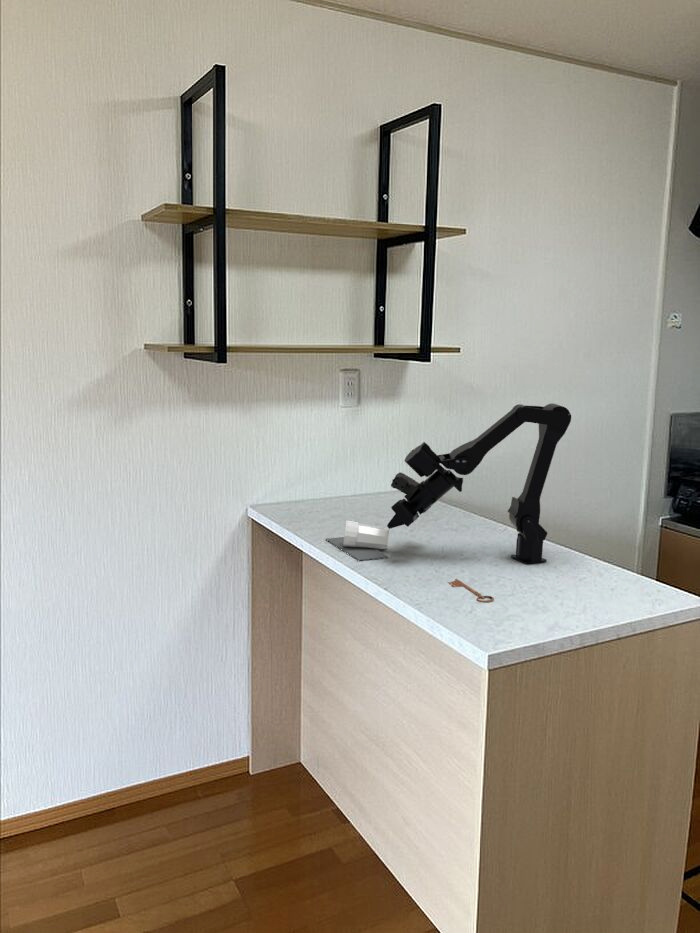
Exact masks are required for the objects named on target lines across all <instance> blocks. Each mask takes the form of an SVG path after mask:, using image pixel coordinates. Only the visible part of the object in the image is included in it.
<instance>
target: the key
mask: <svg viewBox="0 0 700 933" xmlns="http://www.w3.org/2000/svg"><path fill="white" fill-rule="evenodd" d="M447 584H449V585H450V586H451V587H452V588H464V589H466V590H468V591H469V592H470V593H472V595H475V596H476V597H477V598H476V602H478V603H483V604H485V603H486V604H487V603H488V604H489V603H492V602H493V601H494V600H495V599H494V597H493V596H491V595H482V594H481V593H480V592H478V591H477V590H474V589H473V588H472V587H470V586H469V585H467V584H466V583H464V582H463V581H461V580H459V579H458V578H455V579H454V580H452V581H448V582H447ZM485 599H486V600H485Z"/></svg>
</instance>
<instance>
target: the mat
mask: <svg viewBox="0 0 700 933" xmlns="http://www.w3.org/2000/svg"><path fill="white" fill-rule="evenodd" d="M326 540H328V541H329V542H330V543H329V542H328V541H327V542H328V543H329V544H331V543H332V544H331V545H333V546H334V545H335V546H334V547H336V546H337V547H338V548H337V547H336V548H337V549H339V548H340V549H342V550H343V551H342V550H341V551H342V552H344V551H345V552H346V553H345V552H344V553H345V554H347V553H348V554H349V555H348V554H347V555H348V556H350V555H351V556H352V558H353V557H354V558H353V559H355V558H356V559H357V560H356V559H355V560H356V561H358V560H359V561H358V562H361V561H360V560H366V561H371V560H370V559H376V560H381V559H380V558H385V559H389V556H388V555H386V554H384V553H383V552H381V551H379V550H378V549H377V548H367V547H348V546H343V544H344V536H337V537H328V538H325V541H326ZM340 549H339V550H340ZM351 556H350V557H351Z"/></svg>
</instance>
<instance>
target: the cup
mask: <svg viewBox="0 0 700 933" xmlns="http://www.w3.org/2000/svg"><path fill="white" fill-rule="evenodd" d="M344 530H345V531H344V536H343V537H344V544H343V546H348V547H367V548H374V549H379V550H380V549H382V550H387V548H388V544H389V543H388V542H389V537H390V536H389V535H390V529H389V528H384V527H378V526H373V525H368V524H362V523H359V522H357V521H352V520H351V521H350V520H346V522H345V529H344Z"/></svg>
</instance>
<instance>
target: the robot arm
mask: <svg viewBox="0 0 700 933" xmlns="http://www.w3.org/2000/svg"><path fill="white" fill-rule="evenodd" d="M571 421H572V414H571V412H570V410H569V409H568V408H567V407H565V406H563V405H559V404H557V403H548V404H546V405H545V406H540V405H524V404H521V403H519V404H516V405H514V406H513V407H512V409H511V410H509V411H508V412H507V413H506V414H505V415H504V416H502V417H501V418H500V419H498V420H496V422H495V423H493V424H492V425H491V426H489V427H488V428H487V429H486V430H485V431H483V432H482V433H481V434H480V435H479V436H478V437H475V438H474V439H473V440H470V441H467V442H466V443H463V444H461V445H459V446H457V447H456V448H454V449H453V450H452V451H450V452H449V453H444V454H443V453H442V454H437V453H436V452H434V451H433V450H432V448H431V447H430V445H429V444H428V443H427V442H426V441H423V442H422V443H421V444H420V445H418V446H416V447H414V448H413V449H412V450H410V452H409V453H408V454H407V455H406V457H405V458H404V462H405V463H406V464H407V465H408V466H409V467H410V468H411V469H412V470H413V471H414V472H415V473H416V474H417V475H418V476H419V477H421V478H422V477H425V478H426V479H425V480H422V481H421V482H418V481H416V480H415V479H414V478H412V477H410V476H408V475H407V474H405V473H403V472H398V473H396V474H395V477H393V479H392V481H391V483H390V486H391V488H393V489H396V490H397V491H399V492H401V493H403V494H404V498H402V499H399V500H398V501H397V502H395V503H394V504H393V505H391V506H390V508H391V511H393V512H394V513H395V514H394V516H392V518H391V519H390V520H389V522H388V523H387V524H386V527H387V529H389V530H390V529H394V528H397V527H400V526H404V525H405V527H409V526H411V525H412V524H413V523H414V522H416V521H417V520H418V519H419V517H420V516H421V515H422V514H425V513H426V512H428V511H429V509H431V508H432V506H433V505H434V504H435V503H436V502H438V501H439V500H440V499H441V498H442V497H443V496H444V495H446V494H447V493H448V492H449V491H450V490H452V489H453V488H455V489H456V490H457V491H458V492H459V493H462V491H463V483H464V477H459V476H460V475H461V476H467V475H470V474H471V473H473V472H474V470H476V468H478V466H479V464H481V462H482V461H483V459H484V457H485V456H486V455H487V454H488V453H489V452H491V450H492V449H493V448H494V447H496V446H498V444H500V443H501V442H502V441H503V440H505V439H506V438H507V437H508V436H510V435H511V434H512V433H513V432H514V431H516V430H517V429H518V428H519V427H520V426H522V425H523V424H524V423H531V424H532V423H533V424H537V425H538V440H537V444H536V447H535V451H534V453H533V457H532V459H531V463H530V466H529V469H528V473H527V476H526V480H525V483H524V485H523V488H522V492H521V493H520V495H519V496H518V497H515V496H512V497H511V503H510V506H509V508H508V509H507V513H509V515H508V518H509V521H510V523H511V524H512V526H514V527H515V529H516V531H517V538H516V542H515V543H516V545H515V554H511V556H510V557H511V559H513V560H517V561H518V562H521V563H523V564H526V565H529V564H537V563H538V564H540V563H546V562H547V559H545V558H543V549H544V548H543V546H544V541H545V540H546V538H547V536H548V532H547V530H546V529H545V528H544V527H543V526H542V525H541V523H540V519H541V518H540V516H541V497H542V494H543V490H544V486H545V483H546V479H547V477H548V475H549V474H548V473H549V470H550V467H551V464H552V460H553V457H554V454H555V450H556V447H557V444H558V443H559V442H560V440H561V439H562V438H563V436H564V435H565V434H566V431H567V430H568V428H569V426H570V424H571ZM451 470H453V471H454V472H455V473H456V474H458V475H459V476H457V475H455V474H454V473H453V472H452V471H451Z"/></svg>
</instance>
